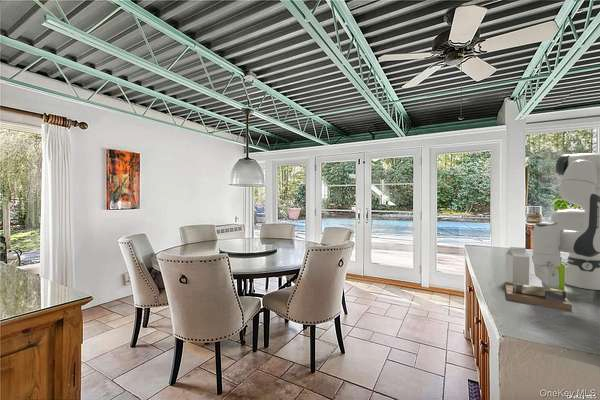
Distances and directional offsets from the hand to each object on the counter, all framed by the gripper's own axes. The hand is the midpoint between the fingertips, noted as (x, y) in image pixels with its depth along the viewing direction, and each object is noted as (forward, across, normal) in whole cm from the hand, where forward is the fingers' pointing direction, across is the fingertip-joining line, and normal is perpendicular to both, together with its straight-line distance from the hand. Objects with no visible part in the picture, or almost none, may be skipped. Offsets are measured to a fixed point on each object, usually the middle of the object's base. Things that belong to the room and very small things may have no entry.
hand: (546, 292), depth 117 cm
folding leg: (+1, -3, +3) cm, 4 cm away
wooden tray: (+4, +3, +3) cm, 6 cm away
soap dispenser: (+4, +20, -8) cm, 22 cm away
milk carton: (+4, +23, +6) cm, 24 cm away
